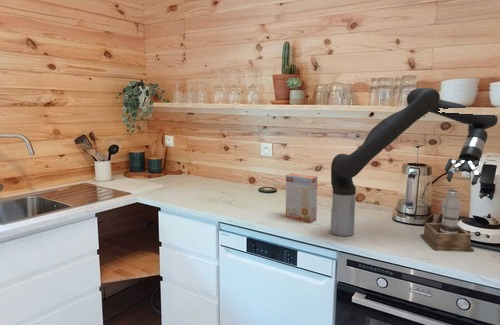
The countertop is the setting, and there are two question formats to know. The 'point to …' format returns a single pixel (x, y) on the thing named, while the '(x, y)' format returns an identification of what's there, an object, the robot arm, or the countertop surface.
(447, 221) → the plastic bottle
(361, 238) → the countertop surface
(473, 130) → the robot arm
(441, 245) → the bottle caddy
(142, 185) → the countertop surface
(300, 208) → the cracker box
